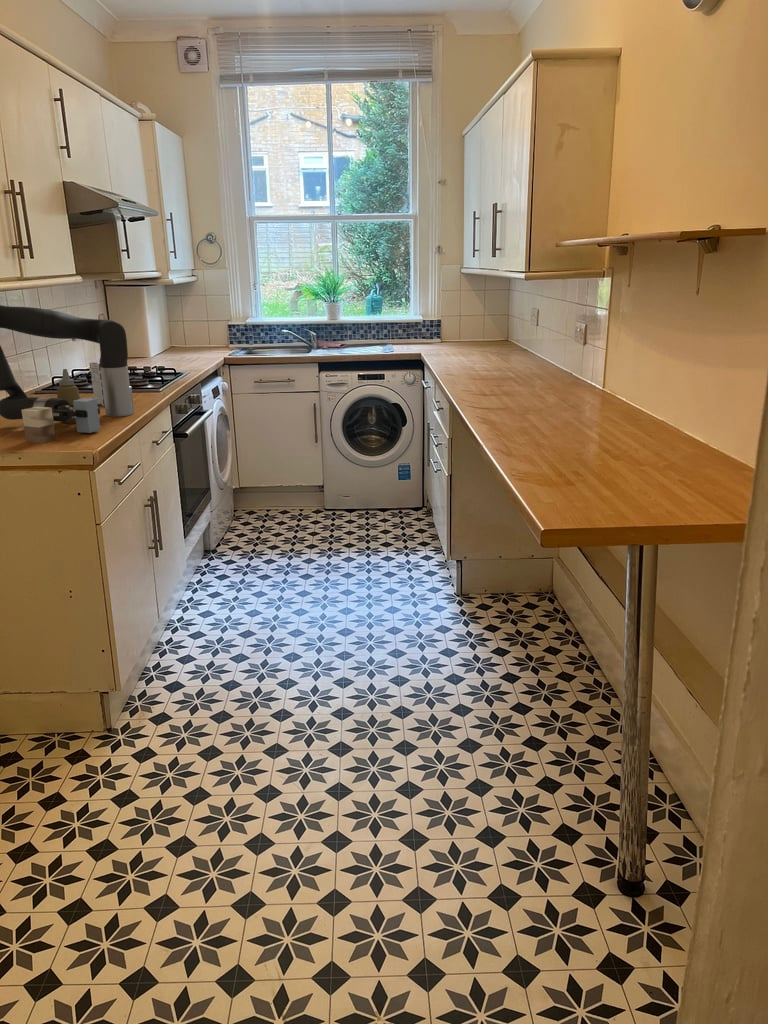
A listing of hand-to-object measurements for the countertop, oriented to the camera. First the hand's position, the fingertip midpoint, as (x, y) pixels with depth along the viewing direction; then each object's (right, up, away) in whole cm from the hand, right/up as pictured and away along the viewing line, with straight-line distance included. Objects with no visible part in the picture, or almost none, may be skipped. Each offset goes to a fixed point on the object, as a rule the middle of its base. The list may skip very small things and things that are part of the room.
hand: (93, 412), depth 245 cm
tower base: (-13, -10, -7) cm, 18 cm away
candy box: (-14, +11, +57) cm, 60 cm away
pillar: (-2, -6, +3) cm, 7 cm away
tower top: (-13, -5, -9) cm, 17 cm away
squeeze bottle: (-15, -1, +21) cm, 26 cm away
